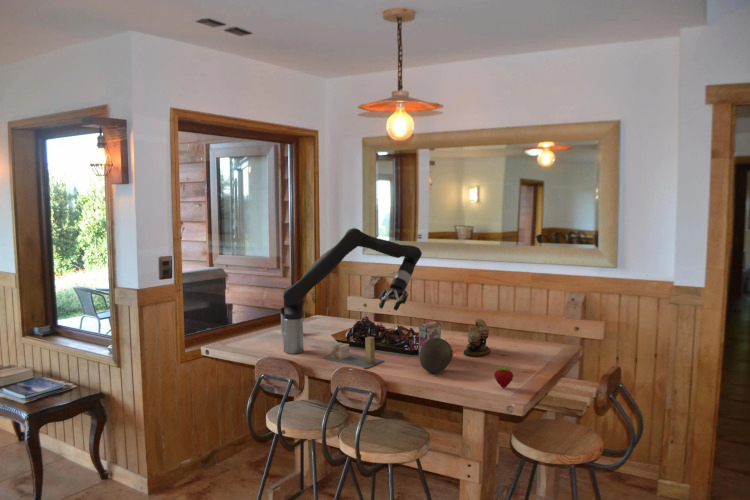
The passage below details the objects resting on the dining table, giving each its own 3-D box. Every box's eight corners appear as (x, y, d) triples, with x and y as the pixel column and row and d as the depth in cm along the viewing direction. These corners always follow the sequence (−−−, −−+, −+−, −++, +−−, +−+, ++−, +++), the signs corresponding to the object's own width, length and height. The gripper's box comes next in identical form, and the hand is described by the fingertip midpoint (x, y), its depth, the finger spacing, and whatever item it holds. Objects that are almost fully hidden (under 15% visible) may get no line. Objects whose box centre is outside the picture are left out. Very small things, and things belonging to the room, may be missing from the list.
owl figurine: (472, 346, 288) (472, 314, 286) (494, 350, 282) (495, 316, 281) (459, 355, 273) (459, 320, 271) (482, 358, 267) (483, 323, 265)
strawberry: (511, 391, 221) (511, 367, 220) (492, 389, 225) (492, 364, 224) (514, 387, 227) (514, 363, 226) (496, 384, 230) (496, 360, 229)
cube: (331, 357, 271) (331, 345, 270) (339, 354, 276) (339, 342, 275) (341, 359, 267) (340, 347, 267) (349, 356, 272) (349, 344, 271)
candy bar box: (426, 360, 265) (426, 326, 263) (418, 358, 268) (418, 324, 267) (441, 355, 273) (441, 322, 271) (433, 353, 276) (433, 320, 275)
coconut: (429, 379, 238) (429, 344, 237) (414, 369, 251) (414, 336, 250) (458, 374, 244) (458, 340, 243) (441, 365, 257) (441, 333, 256)
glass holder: (279, 333, 323) (278, 307, 322) (304, 331, 328) (303, 305, 326) (281, 336, 315) (280, 310, 314) (306, 334, 319) (306, 308, 318)
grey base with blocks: (319, 359, 270) (319, 333, 269) (338, 352, 281) (338, 327, 280) (366, 369, 253) (365, 341, 252) (384, 361, 264) (384, 335, 263)
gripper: (385, 276, 280) (372, 302, 272) (409, 277, 271) (396, 305, 263) (392, 285, 284) (379, 311, 276) (415, 287, 276) (403, 314, 268)
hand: (387, 308), depth 270 cm, fingers open, 8 cm apart
